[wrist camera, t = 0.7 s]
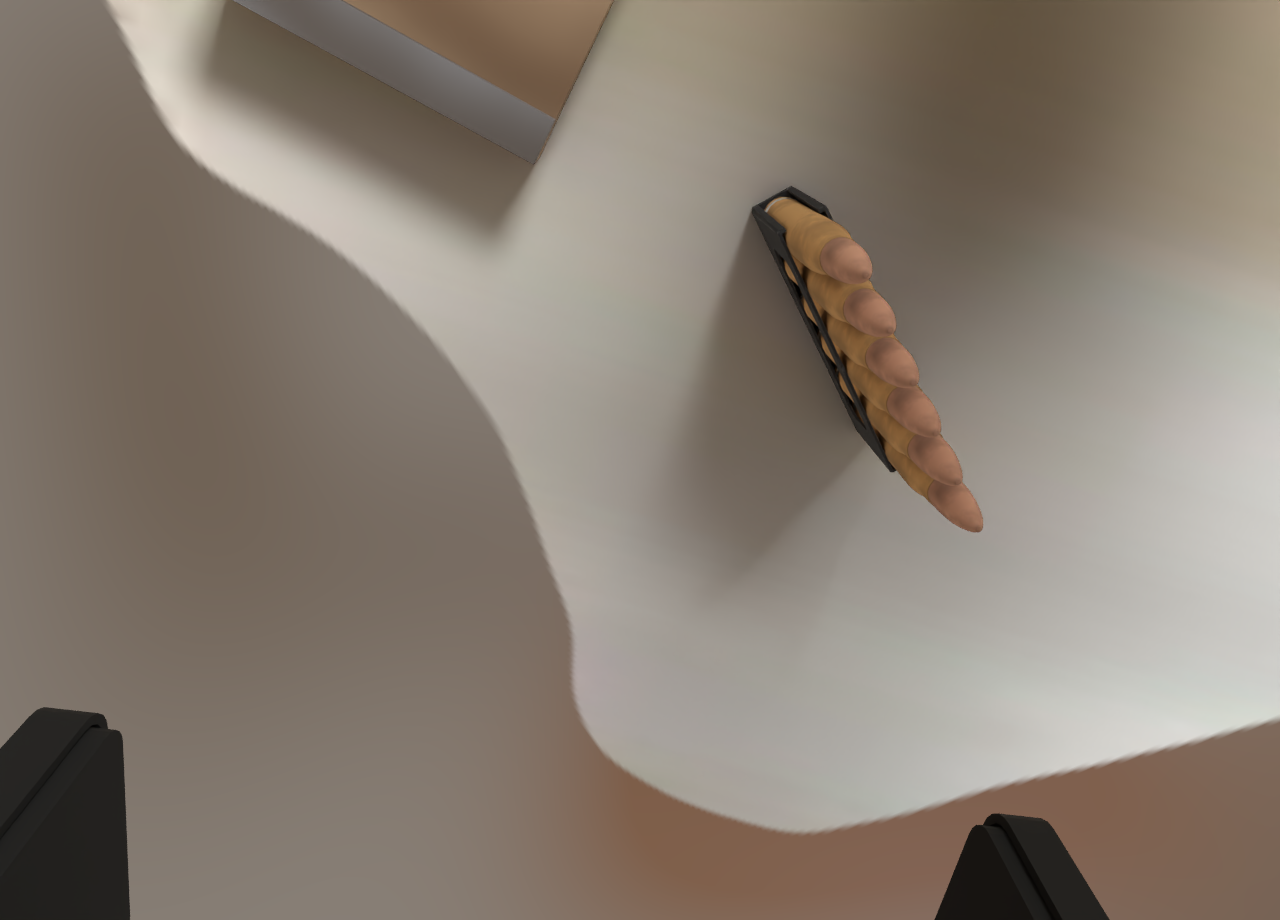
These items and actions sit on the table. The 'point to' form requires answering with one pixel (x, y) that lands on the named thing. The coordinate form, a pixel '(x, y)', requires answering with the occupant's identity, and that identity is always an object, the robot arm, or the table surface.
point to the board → (460, 55)
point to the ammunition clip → (864, 350)
